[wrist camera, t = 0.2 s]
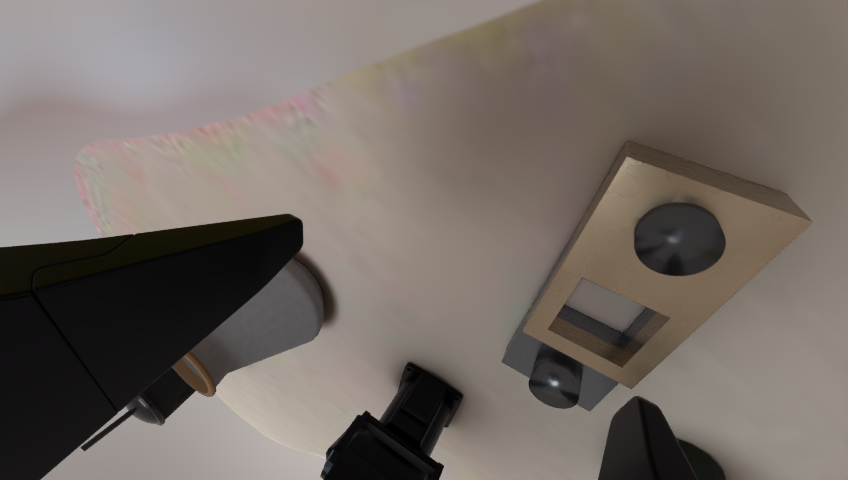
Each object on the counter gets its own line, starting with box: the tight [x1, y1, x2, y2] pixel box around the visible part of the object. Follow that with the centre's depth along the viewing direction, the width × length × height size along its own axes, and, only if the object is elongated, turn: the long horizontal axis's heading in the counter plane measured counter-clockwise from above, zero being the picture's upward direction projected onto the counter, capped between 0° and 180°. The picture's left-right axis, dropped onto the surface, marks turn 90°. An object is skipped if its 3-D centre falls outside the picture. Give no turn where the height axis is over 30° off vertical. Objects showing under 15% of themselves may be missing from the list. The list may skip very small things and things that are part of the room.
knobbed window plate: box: [502, 141, 813, 411], centre depth 20 cm, size 18×7×4 cm, turn 167°
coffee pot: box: [172, 259, 324, 397], centre depth 36 cm, size 21×12×15 cm, turn 120°
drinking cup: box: [81, 367, 196, 451], centre depth 48 cm, size 8×8×20 cm
